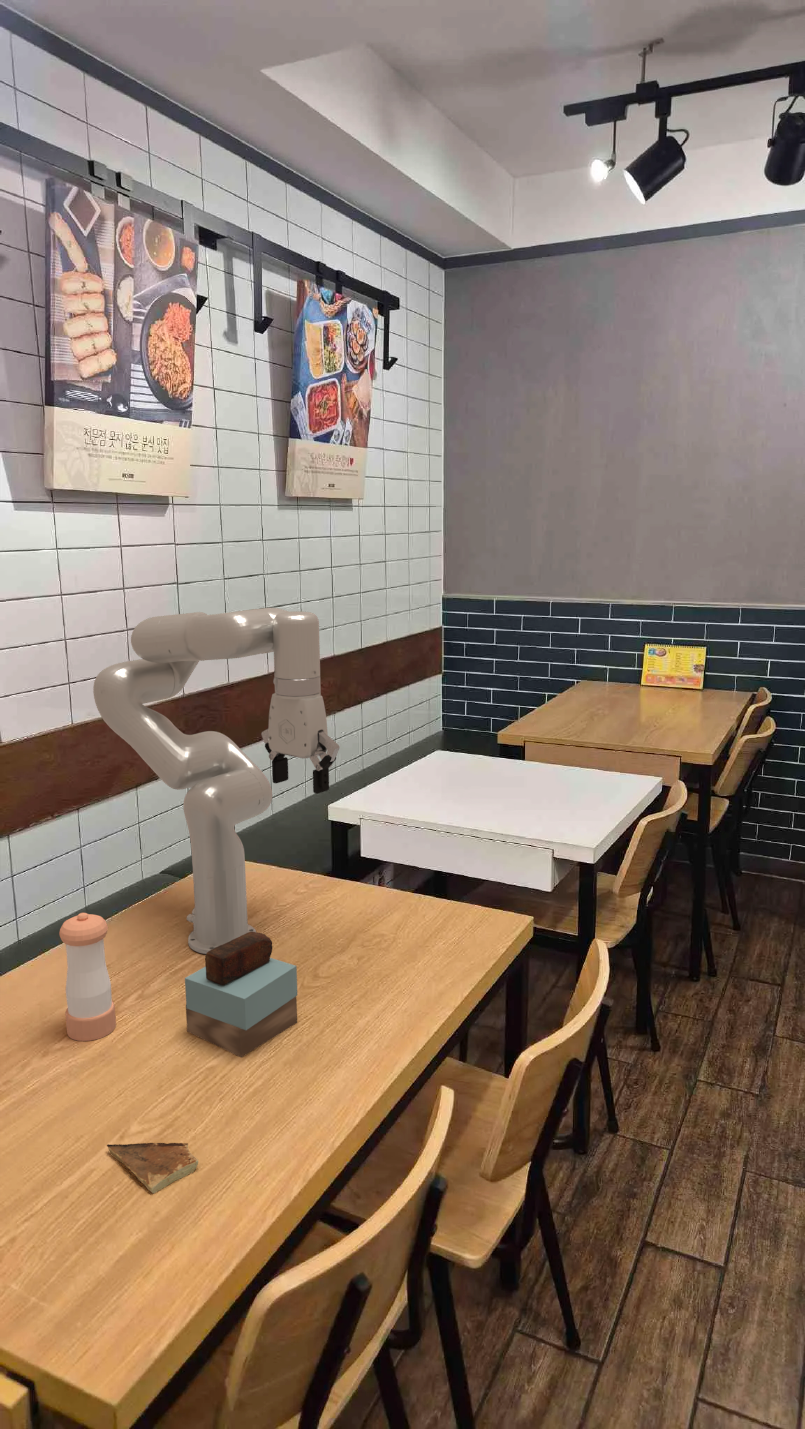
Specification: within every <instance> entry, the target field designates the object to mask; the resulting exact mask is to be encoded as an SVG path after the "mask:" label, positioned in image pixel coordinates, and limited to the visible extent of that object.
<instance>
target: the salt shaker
mask: <svg viewBox="0 0 805 1429" xmlns="http://www.w3.org/2000/svg"><path fill="white" fill-rule="evenodd" d="M108 930H109V927H108V924H107V921H106V920H105V919H104V917H102V916H101V915H97V914H93V913H92V914H89V913H87V912H80V913H79V914H78V915H75V916H73V917H71V918H69V919H66V920H65V921H64V922H63V923H62V925H61V927H60V929H59V937H60V940H61V941H62V943H63V944H65V950H66V963H67V971H66V981H65V982H66V983H65V995H66V996H65V997H66V1005H67V1008H66V1010H65V1014H64V1015H65V1022H66V1024H65V1025H66V1033H67V1037H69V1038H70V1039H72V1040H74V1041H79V1042H88V1041H89V1042H90V1041H94V1040H98V1039H101V1038H104V1037H106V1036H108V1035H109V1034H111V1033H113V1031H114V1030H115V1029H116V1026H117V1021H116V1020H117V1019H116V1007H115V1002H114V1001H113V1000H112V998H113V997H112V983H111V979H110V975H109V971H108V968H107V964H106V954H105V943H104V938H106V936H107V934H108Z"/></svg>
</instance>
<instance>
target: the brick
mask: <svg viewBox="0 0 805 1429" xmlns="http://www.w3.org/2000/svg"><path fill="white" fill-rule="evenodd" d="M272 952H273V941H272V939H271V938H270V937H269V936H267V935H266V934H264V933H262V932H257V931H256V932H248V933H246V934H244V935H242V936H240V937H238V938H235V939H233V940H231V941H229V942H227V943H225V944H223V945H220V946H218V947H215V948H214V949H211V950H210V951H208V952H207V953H206V954H205V958H204V961H205V966H206V979H207V980H210V981H212V982H215V983H217V984H219V985H222V986H223V985H226V984H228V983H230V982H231V981H233V980H235V979H238V978H240V977H242V976H244V975H245V974H247V973H249V972H251V971H253V970H255V969H256V968H258V967H260V966H262V965H264V964H266V963H267V962H269V961H270V958H271V955H272Z"/></svg>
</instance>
